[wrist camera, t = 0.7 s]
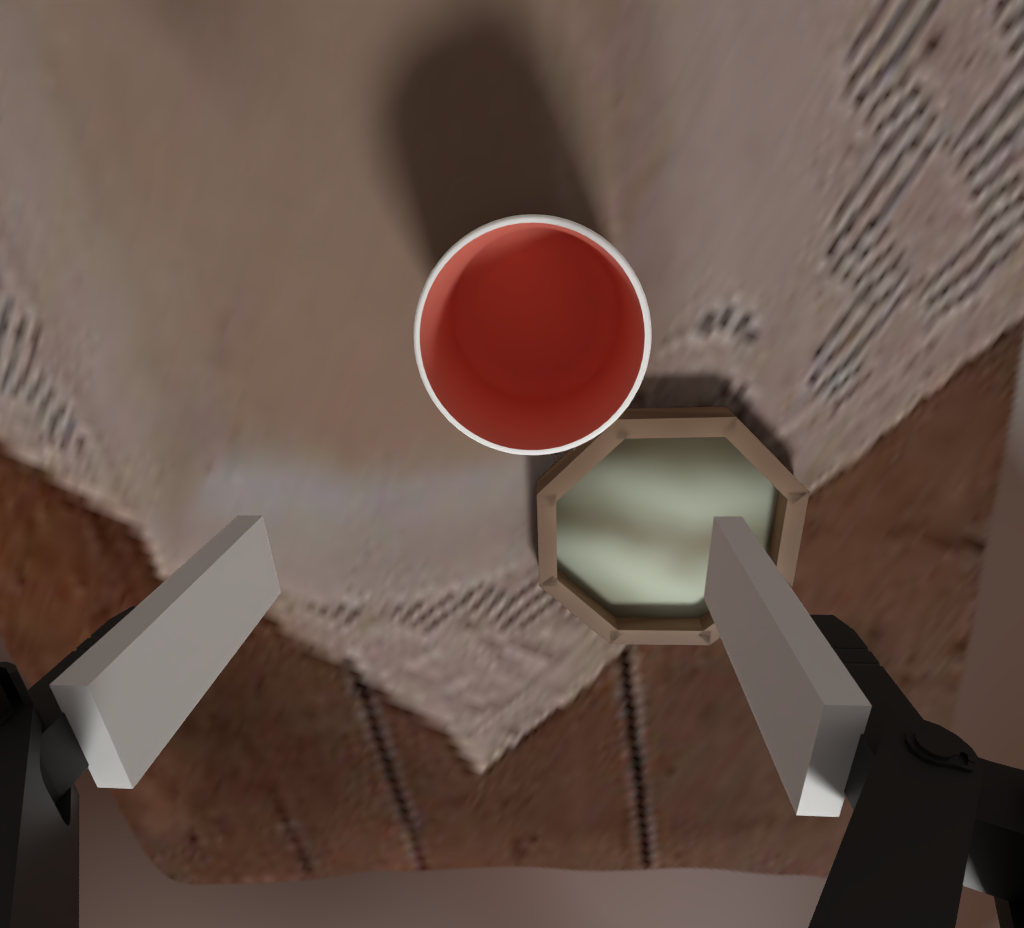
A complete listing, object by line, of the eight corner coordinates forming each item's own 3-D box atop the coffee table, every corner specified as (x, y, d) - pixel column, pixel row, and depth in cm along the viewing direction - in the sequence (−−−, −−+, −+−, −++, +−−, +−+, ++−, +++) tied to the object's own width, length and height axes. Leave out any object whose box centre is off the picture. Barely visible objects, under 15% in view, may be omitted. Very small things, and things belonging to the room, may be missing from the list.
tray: (535, 410, 34) (534, 421, 32) (806, 404, 33) (823, 415, 31) (541, 623, 40) (540, 643, 38) (769, 624, 39) (781, 645, 37)
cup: (487, 192, 30) (459, 170, 20) (653, 265, 30) (697, 275, 21) (429, 360, 33) (383, 406, 24) (578, 421, 34) (588, 488, 25)
